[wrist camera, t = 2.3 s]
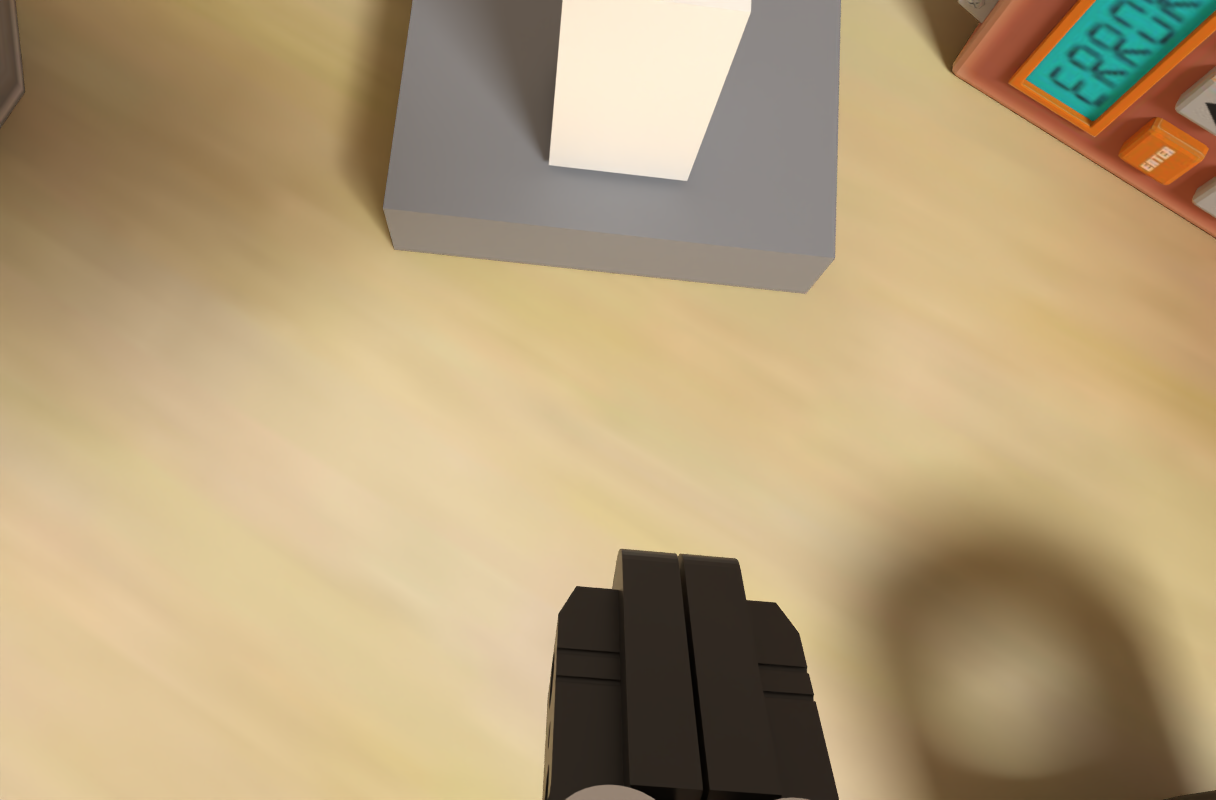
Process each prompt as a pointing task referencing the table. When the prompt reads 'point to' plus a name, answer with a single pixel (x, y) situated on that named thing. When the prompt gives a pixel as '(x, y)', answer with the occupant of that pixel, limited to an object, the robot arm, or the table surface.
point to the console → (605, 201)
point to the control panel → (1110, 86)
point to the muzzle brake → (1197, 796)
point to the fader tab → (640, 82)
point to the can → (9, 60)
